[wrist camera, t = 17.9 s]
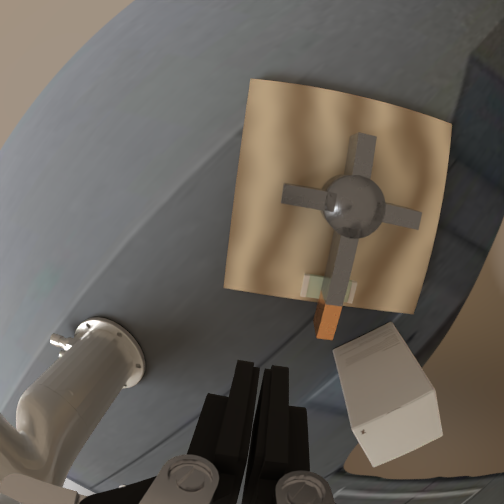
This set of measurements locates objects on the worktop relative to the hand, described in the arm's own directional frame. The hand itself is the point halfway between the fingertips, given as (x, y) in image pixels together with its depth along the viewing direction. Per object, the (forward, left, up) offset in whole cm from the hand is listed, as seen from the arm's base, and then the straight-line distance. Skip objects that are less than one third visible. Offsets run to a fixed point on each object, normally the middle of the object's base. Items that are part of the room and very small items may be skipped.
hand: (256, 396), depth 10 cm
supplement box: (+16, -15, -27) cm, 35 cm away
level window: (+7, -5, -26) cm, 27 cm away
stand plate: (+7, +5, -27) cm, 28 cm away
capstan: (+7, +2, -25) cm, 26 cm away
